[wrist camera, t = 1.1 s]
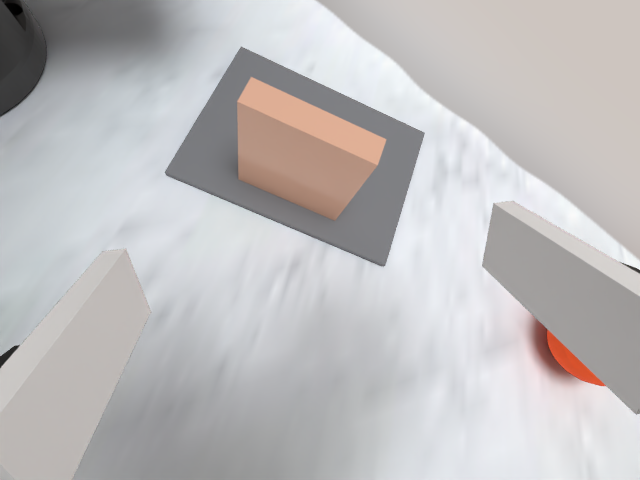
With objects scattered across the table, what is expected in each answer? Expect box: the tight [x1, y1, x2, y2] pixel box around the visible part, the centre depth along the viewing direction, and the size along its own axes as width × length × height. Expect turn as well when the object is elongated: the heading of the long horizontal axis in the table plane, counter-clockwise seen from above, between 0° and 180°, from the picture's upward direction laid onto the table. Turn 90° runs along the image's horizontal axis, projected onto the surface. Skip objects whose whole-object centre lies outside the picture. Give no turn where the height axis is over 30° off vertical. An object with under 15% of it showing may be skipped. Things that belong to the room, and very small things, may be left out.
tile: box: [237, 77, 387, 221], centre depth 25 cm, size 9×2×10 cm, turn 70°
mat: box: [165, 47, 425, 266], centre depth 32 cm, size 20×15×1 cm
